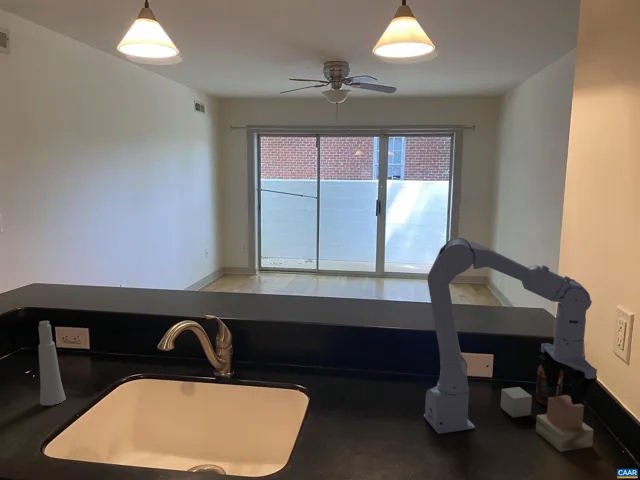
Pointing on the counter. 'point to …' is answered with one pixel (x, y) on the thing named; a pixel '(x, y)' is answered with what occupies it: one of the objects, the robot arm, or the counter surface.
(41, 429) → the counter surface
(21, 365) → the counter surface
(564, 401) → the terracotta cube
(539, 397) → the supplement bottle
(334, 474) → the counter surface
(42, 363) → the cosmetic bottle
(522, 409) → the grey cube
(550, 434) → the birch base block
